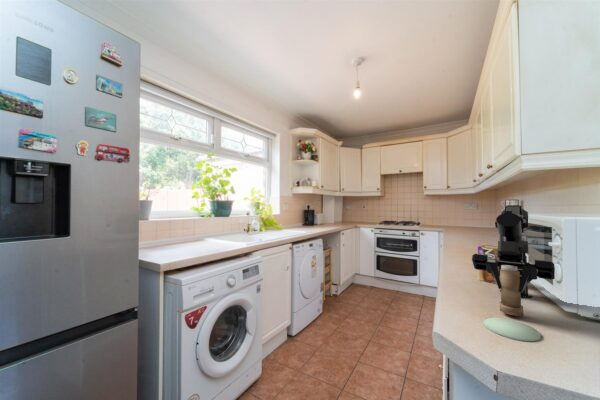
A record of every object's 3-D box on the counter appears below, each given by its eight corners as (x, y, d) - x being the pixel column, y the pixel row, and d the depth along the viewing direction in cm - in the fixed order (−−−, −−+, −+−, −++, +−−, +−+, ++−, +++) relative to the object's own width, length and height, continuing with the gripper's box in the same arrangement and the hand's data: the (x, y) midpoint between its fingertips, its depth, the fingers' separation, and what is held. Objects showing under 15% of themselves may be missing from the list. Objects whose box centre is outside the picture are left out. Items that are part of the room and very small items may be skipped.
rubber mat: (513, 319, 68) (513, 317, 68) (554, 341, 57) (554, 338, 57) (474, 319, 68) (474, 318, 68) (507, 341, 57) (507, 339, 57)
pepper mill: (512, 307, 73) (510, 264, 73) (528, 315, 68) (526, 268, 68) (495, 308, 73) (493, 264, 73) (509, 315, 68) (507, 268, 68)
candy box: (509, 284, 97) (507, 246, 97) (503, 286, 95) (501, 247, 95) (484, 278, 105) (482, 243, 105) (478, 280, 103) (476, 244, 103)
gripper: (471, 229, 80) (466, 269, 72) (552, 232, 67) (557, 281, 59) (476, 249, 86) (472, 288, 78) (552, 256, 73) (556, 304, 64)
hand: (509, 290), depth 70 cm, fingers closed on pepper mill, 4 cm apart
